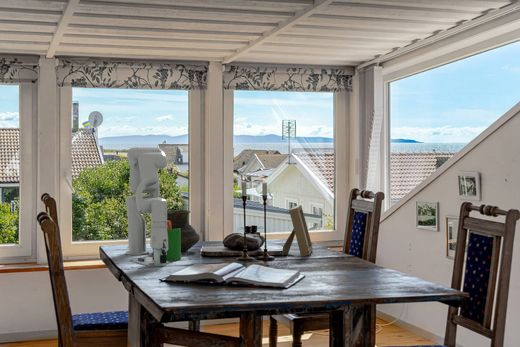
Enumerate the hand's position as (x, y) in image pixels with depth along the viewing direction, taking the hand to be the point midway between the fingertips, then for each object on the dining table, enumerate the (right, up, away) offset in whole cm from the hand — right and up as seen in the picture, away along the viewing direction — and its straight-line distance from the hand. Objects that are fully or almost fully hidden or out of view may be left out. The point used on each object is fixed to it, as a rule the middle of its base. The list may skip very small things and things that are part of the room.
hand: (160, 262), depth 328 cm
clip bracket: (-7, -1, +11) cm, 13 cm away
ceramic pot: (+3, -1, +45) cm, 45 cm away
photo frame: (+68, 0, +33) cm, 75 cm away
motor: (+3, -1, +18) cm, 18 cm away
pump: (0, -2, 0) cm, 2 cm away
